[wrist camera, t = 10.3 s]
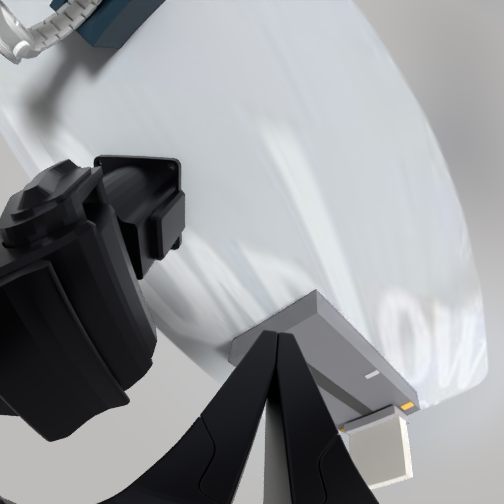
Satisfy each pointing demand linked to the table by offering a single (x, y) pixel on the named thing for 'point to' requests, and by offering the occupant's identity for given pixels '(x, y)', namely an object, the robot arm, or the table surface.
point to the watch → (74, 25)
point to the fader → (381, 447)
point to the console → (337, 361)
